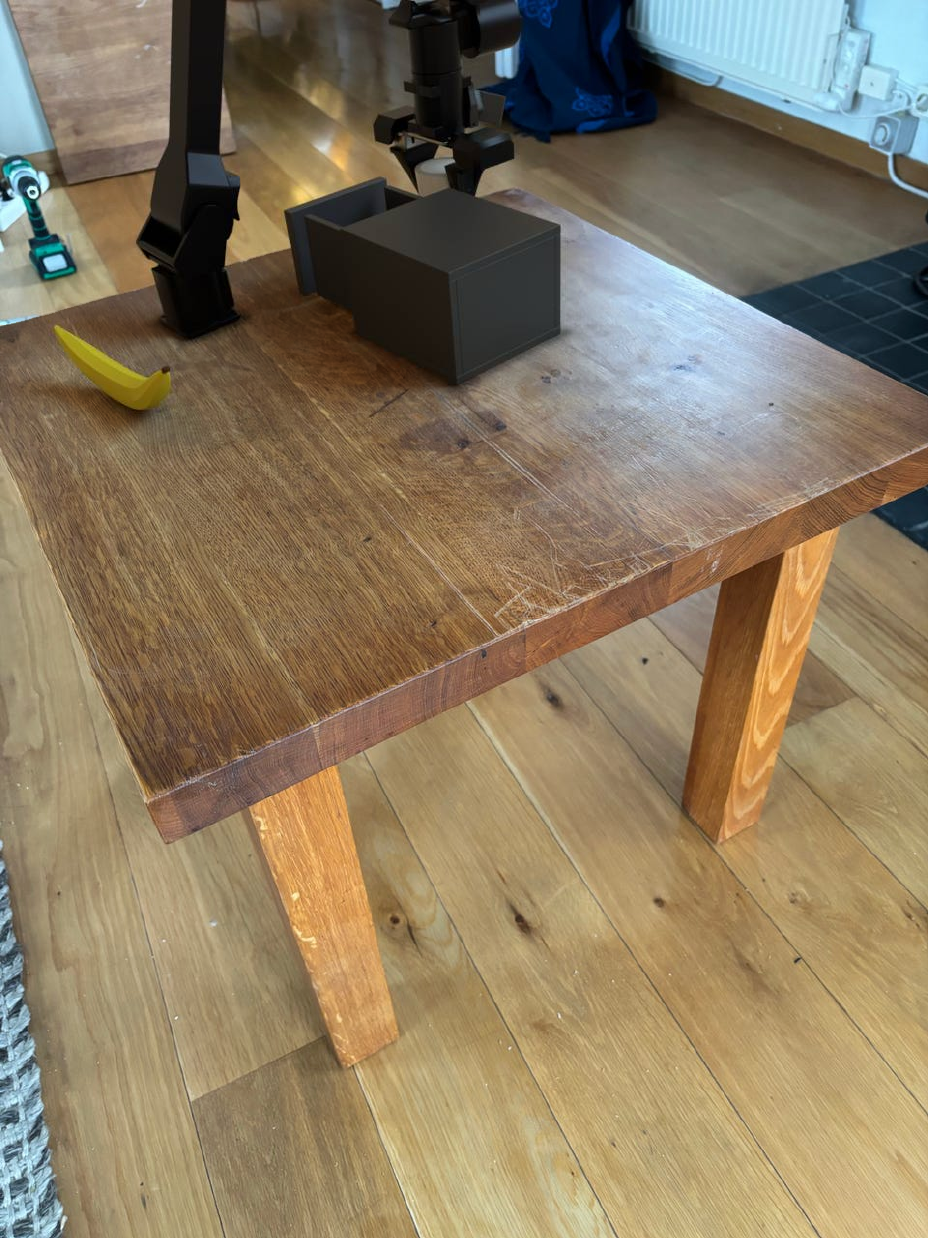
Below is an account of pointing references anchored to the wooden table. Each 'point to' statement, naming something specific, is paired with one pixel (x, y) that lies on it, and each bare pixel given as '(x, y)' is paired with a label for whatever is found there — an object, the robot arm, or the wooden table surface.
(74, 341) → the banana
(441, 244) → the cabinet
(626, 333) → the wooden table surface
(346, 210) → the drawer
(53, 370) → the wooden table surface
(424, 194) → the white cylinder
